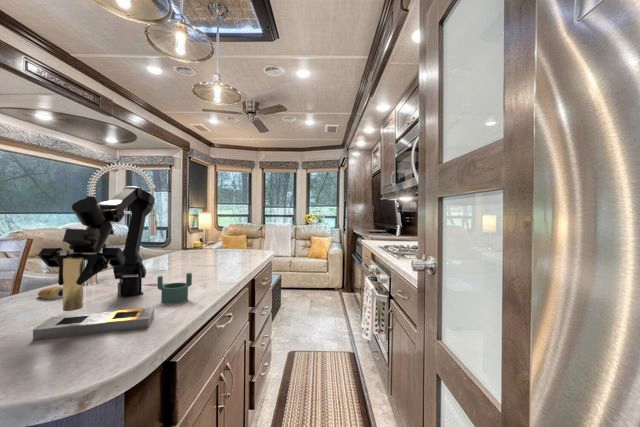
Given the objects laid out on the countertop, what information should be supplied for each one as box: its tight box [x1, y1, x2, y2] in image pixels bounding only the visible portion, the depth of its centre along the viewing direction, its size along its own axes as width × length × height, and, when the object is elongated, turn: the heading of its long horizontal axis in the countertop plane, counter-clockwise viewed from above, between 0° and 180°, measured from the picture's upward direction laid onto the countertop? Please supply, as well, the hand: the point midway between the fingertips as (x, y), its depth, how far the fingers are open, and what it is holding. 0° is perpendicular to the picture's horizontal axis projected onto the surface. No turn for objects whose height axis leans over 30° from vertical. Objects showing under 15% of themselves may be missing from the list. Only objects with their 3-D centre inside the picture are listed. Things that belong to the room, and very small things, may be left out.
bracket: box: [157, 272, 193, 305], centre depth 103 cm, size 9×9×9 cm
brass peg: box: [62, 257, 84, 312], centre depth 76 cm, size 4×4×13 cm
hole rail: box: [32, 307, 155, 341], centre depth 78 cm, size 24×9×3 cm, turn 111°
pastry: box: [37, 286, 63, 301], centre depth 105 cm, size 9×7×4 cm
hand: (69, 284), depth 75 cm, fingers closed on brass peg, 4 cm apart
